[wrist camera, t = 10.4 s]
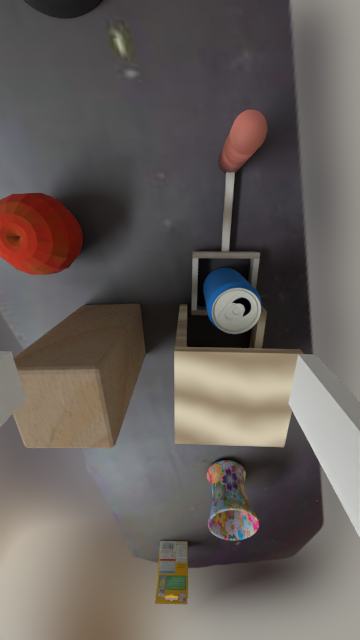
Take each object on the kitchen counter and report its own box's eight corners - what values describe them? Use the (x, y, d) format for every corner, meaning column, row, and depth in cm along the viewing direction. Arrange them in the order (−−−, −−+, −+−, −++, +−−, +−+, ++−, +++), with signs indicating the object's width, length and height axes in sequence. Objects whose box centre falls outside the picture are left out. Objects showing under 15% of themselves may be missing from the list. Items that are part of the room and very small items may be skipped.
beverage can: (251, 290, 39) (275, 316, 28) (218, 313, 41) (229, 347, 30) (228, 257, 37) (244, 272, 26) (194, 283, 39) (196, 307, 28)
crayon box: (161, 546, 66) (155, 609, 55) (160, 540, 65) (154, 603, 54) (188, 547, 66) (187, 610, 55) (187, 540, 64) (187, 604, 54)
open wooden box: (180, 304, 41) (174, 351, 26) (261, 305, 40) (304, 353, 25) (179, 371, 45) (174, 443, 30) (252, 373, 45) (284, 447, 30)
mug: (199, 460, 54) (201, 513, 44) (241, 451, 52) (253, 505, 42) (214, 495, 58) (219, 551, 48) (253, 488, 56) (266, 545, 46)
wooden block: (140, 302, 41) (99, 368, 22) (146, 355, 44) (115, 450, 26) (82, 304, 41) (-7, 370, 23) (92, 356, 45) (23, 450, 26)
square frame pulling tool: (194, 146, 32) (197, 110, 22) (268, 145, 32) (306, 108, 22) (191, 310, 41) (191, 340, 30) (249, 311, 40) (270, 341, 30)
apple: (22, 252, 38) (-43, 263, 28) (32, 184, 35) (-39, 167, 24) (84, 276, 39) (45, 296, 29) (100, 213, 36) (62, 208, 25)
